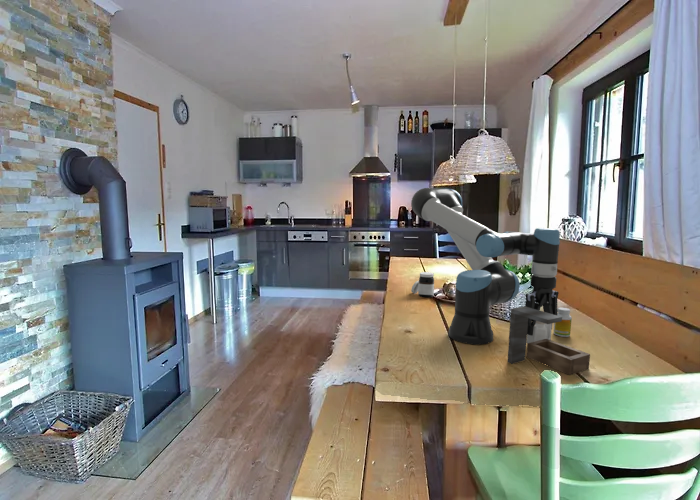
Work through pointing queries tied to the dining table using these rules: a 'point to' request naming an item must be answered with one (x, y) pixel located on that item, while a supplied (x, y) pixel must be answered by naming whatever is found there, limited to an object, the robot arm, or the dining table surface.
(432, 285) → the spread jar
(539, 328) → the pepper shaker
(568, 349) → the brown and grey frame
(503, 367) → the dining table surface
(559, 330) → the supplement bottle
